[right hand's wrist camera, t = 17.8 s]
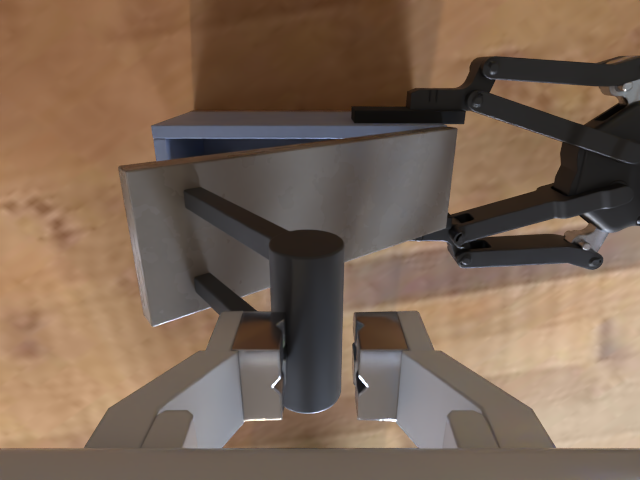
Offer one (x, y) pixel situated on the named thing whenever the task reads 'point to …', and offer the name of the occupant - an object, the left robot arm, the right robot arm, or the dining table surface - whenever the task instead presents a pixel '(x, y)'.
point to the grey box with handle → (283, 233)
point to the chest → (259, 130)
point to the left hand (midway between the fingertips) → (351, 167)
